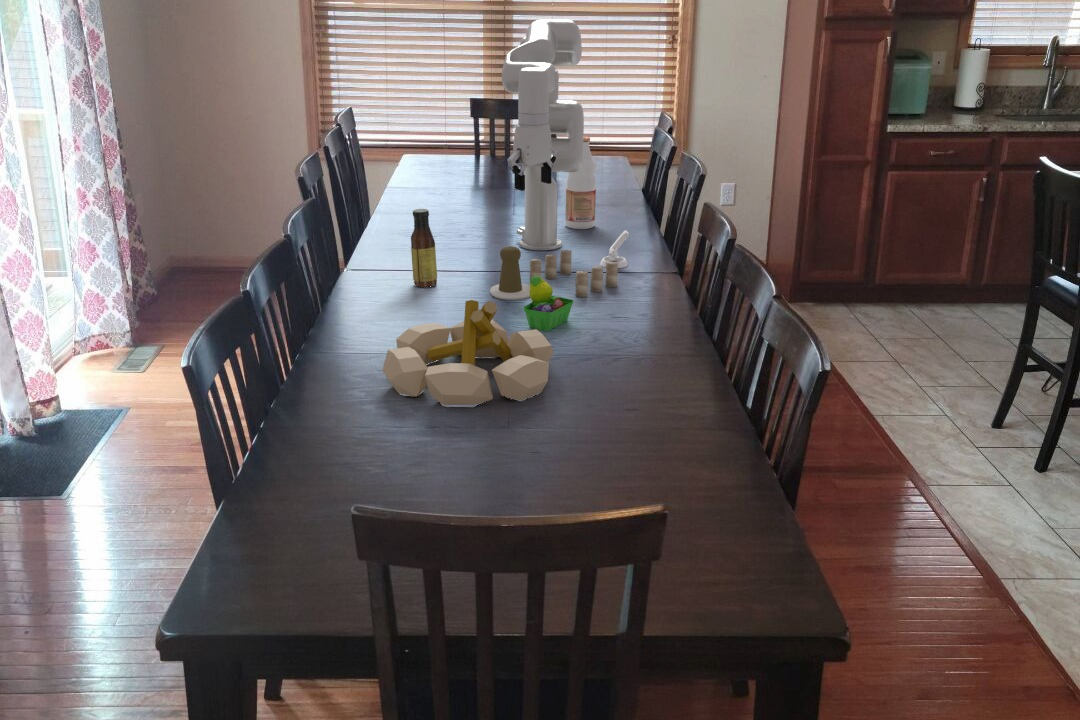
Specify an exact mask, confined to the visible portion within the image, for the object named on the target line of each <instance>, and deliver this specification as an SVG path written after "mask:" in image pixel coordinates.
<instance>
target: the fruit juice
mask: <svg viewBox="0 0 1080 720" xmlns="http://www.w3.org/2000/svg"><path fill="white" fill-rule="evenodd" d="M590 143H591V137H590V136H584V137H583V162H582V166H581V168H580V170H578V171H576V172H567V178H566V182H565V226H566V227H567V228H568V229H574V230H588V229H592V228H594V226H595V223H596V197H597V196H596V195H597V194H596V191H597V182H596V180H597V179H596V178H595V177H596V176H595V173H596V171H597V164H596V161H595V159H594V157H593V155H592V152H591V149H590Z"/></svg>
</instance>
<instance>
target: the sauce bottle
mask: <svg viewBox="0 0 1080 720" xmlns="http://www.w3.org/2000/svg"><path fill="white" fill-rule="evenodd" d="M429 212H430V211H429V209H427V208H415V209H413V210H412V216H413V227H414V228H413V231H412V234H411V236H410V243H411V246H410V253H411V263H412V264H411V265H412V278H413V279H412V280H413V284H415V285H416V286H415V285H414V286H415V287H418V286H420V287H419V288H421V287H428V288H431V287H430V286H433V287H435V286H436V285H437V283H438V267H437V255H436V253H437V252H436V242H435V239H434V236H433V233H432V230H431V227H430V222H429V217H430V213H429ZM434 285H435V286H434Z"/></svg>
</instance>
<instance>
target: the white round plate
mask: <svg viewBox="0 0 1080 720" xmlns="http://www.w3.org/2000/svg"><path fill="white" fill-rule="evenodd" d="M489 291H490V293H491V294H490V295H491V297H493V296H494V297H493V298H496V299H500V300H505V301H506V300H507V301H508V300H509V301H510V300H511V301H512V300H513V301H518V300H525V299H529V298H530V294H529V291H530V284H526V283H522V291H520V292H515V293H506V292H501V291H500V290H499V283H497V284H495V285H493V286H491V287H490V290H489Z"/></svg>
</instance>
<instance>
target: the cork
mask: <svg viewBox="0 0 1080 720" xmlns="http://www.w3.org/2000/svg"><path fill="white" fill-rule="evenodd" d="M499 255H500V259H501V266H500V275H499V282H498V284H499V290H500V291H501V292H506V293H515V292H520V291H522V284H523V283H522V277H521V270H520V268H521V267H520V262H519V261H520V259H521V255H522V253H521V250H520V248H518V247H517V246H509V245H508V246H505V247H502V248H501V249H500V251H499Z"/></svg>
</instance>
